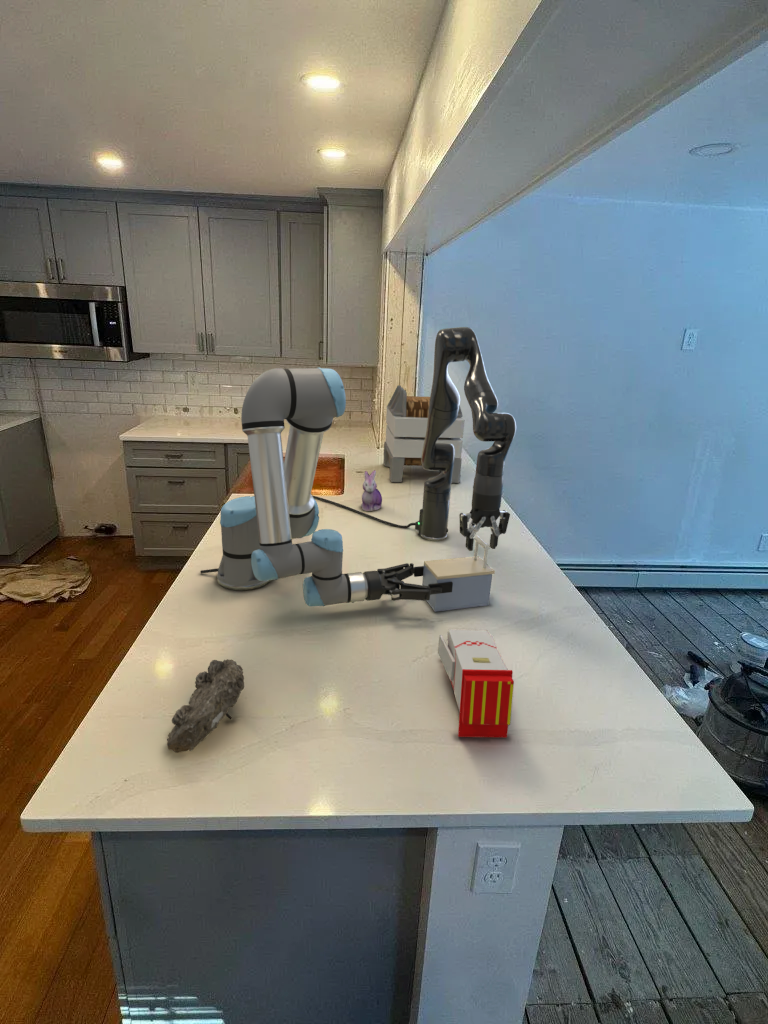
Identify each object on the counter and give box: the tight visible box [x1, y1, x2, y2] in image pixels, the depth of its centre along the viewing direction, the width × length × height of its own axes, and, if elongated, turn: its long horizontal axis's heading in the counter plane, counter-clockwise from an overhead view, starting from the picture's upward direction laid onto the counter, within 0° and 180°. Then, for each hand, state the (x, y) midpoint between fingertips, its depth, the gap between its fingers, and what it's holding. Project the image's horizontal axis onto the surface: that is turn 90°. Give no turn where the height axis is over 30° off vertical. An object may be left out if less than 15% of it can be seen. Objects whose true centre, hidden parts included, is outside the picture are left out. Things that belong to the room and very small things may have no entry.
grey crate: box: [383, 384, 465, 484], centre depth 268 cm, size 34×33×41 cm
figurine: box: [360, 469, 383, 512], centre depth 222 cm, size 9×10×15 cm
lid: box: [423, 535, 496, 580], centre depth 152 cm, size 16×10×8 cm, turn 107°
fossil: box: [166, 658, 245, 754], centre depth 106 cm, size 22×10×15 cm
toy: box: [437, 628, 515, 738], centre depth 117 cm, size 12×13×30 cm
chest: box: [421, 564, 493, 613], centre depth 154 cm, size 16×10×9 cm, turn 107°
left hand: (443, 578), depth 153 cm, fingers closed on chest, 10 cm apart
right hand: (481, 548), depth 153 cm, fingers open, 6 cm apart
